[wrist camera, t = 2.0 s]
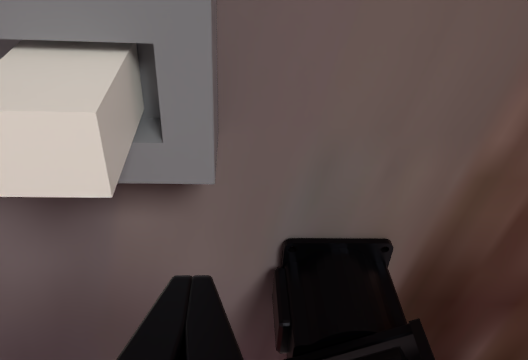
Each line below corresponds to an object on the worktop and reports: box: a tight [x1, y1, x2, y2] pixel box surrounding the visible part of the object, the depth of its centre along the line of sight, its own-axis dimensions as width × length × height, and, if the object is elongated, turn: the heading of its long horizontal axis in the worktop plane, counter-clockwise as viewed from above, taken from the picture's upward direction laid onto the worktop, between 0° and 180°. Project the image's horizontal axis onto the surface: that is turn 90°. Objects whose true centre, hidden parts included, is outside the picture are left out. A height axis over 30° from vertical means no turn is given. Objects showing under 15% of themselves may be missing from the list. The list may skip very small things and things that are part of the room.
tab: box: [0, 40, 144, 198], centre depth 16 cm, size 4×3×6 cm
